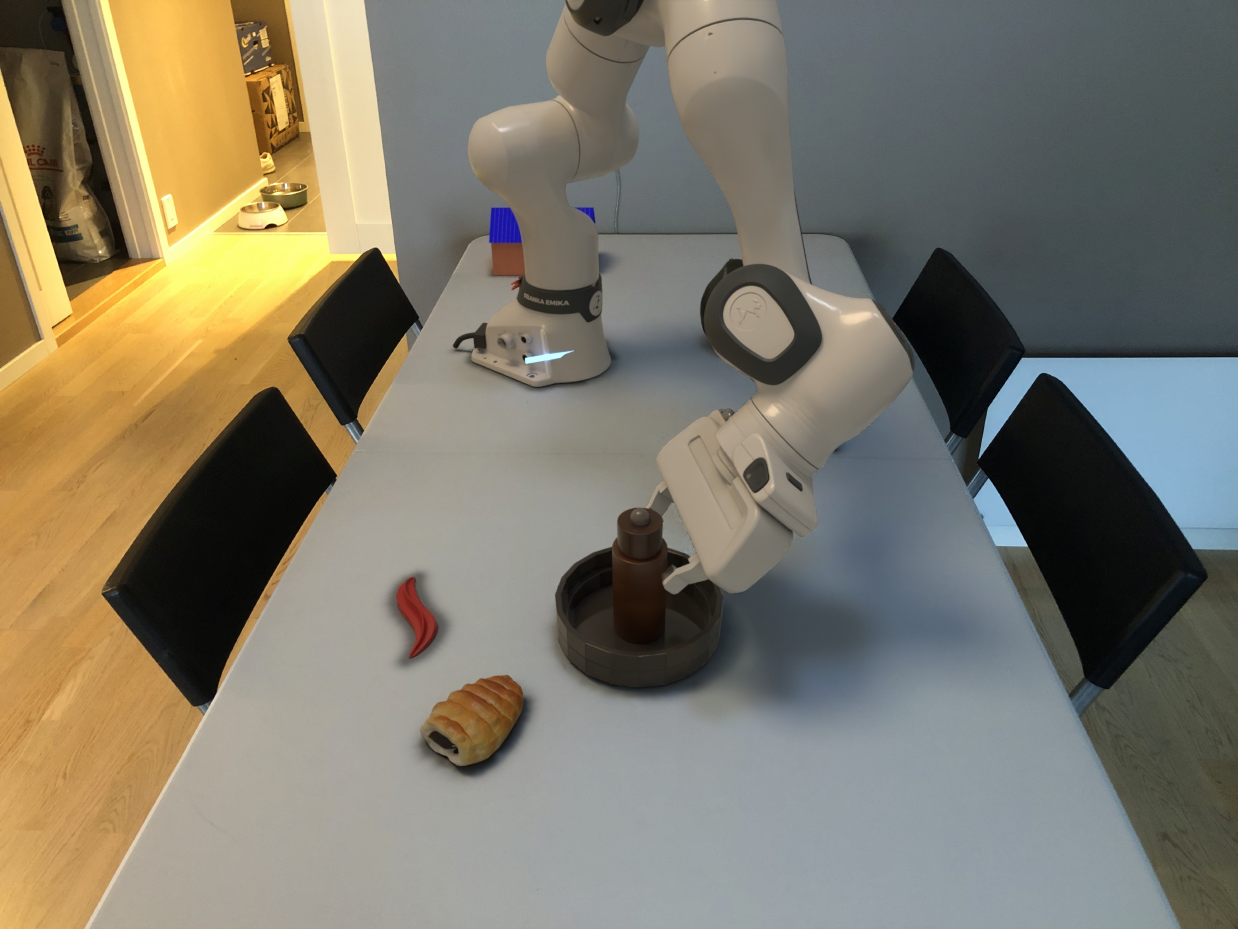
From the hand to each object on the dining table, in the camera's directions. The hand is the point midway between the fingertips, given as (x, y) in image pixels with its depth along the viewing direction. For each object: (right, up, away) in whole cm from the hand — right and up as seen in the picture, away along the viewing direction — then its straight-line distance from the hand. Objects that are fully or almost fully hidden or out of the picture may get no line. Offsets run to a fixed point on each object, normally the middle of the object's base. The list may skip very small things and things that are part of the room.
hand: (654, 554), depth 82 cm
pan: (-1, -8, +5) cm, 10 cm away
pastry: (-16, -15, -5) cm, 23 cm away
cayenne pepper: (-24, -7, +7) cm, 26 cm away
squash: (+17, +29, +62) cm, 70 cm away
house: (-18, +49, +93) cm, 107 cm away
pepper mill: (-1, -8, +5) cm, 9 cm away
